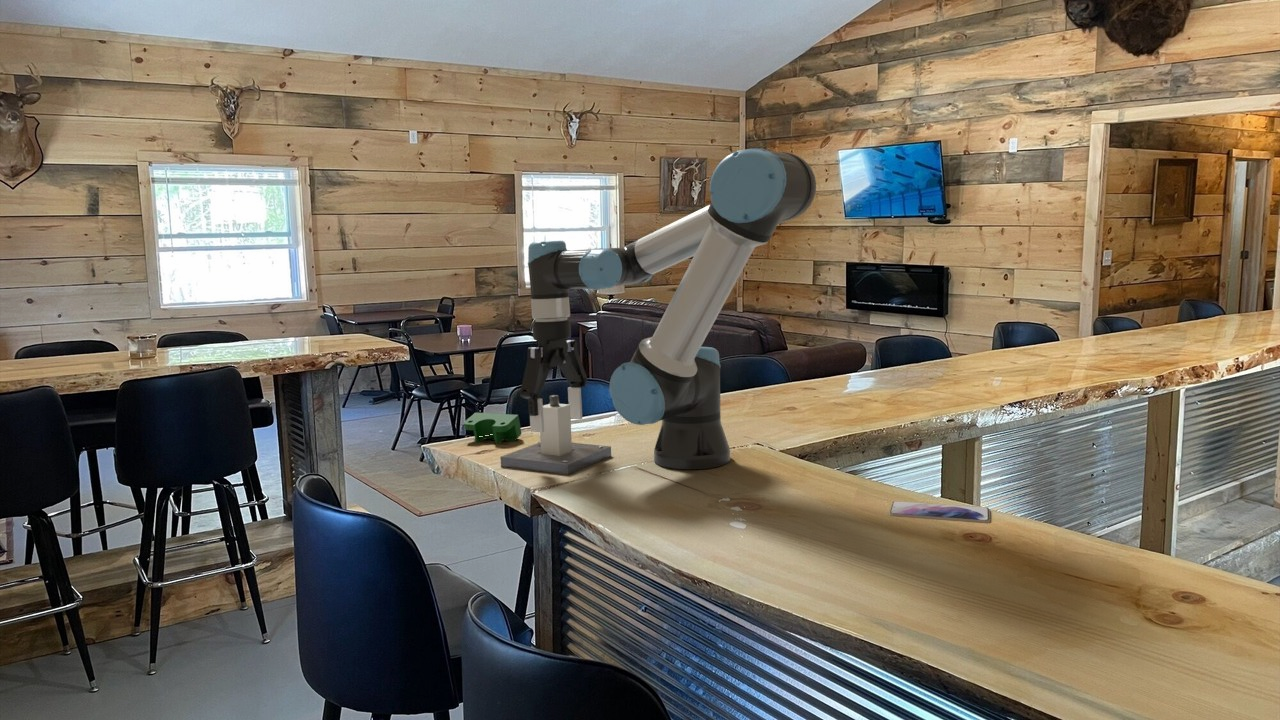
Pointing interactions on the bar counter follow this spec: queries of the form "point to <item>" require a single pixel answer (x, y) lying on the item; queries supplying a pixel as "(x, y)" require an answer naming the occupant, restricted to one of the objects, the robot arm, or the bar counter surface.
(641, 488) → the bar counter surface
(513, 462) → the socket
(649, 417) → the robot arm
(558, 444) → the plug
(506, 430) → the clamp
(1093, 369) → the bar counter surface
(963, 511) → the smartphone
